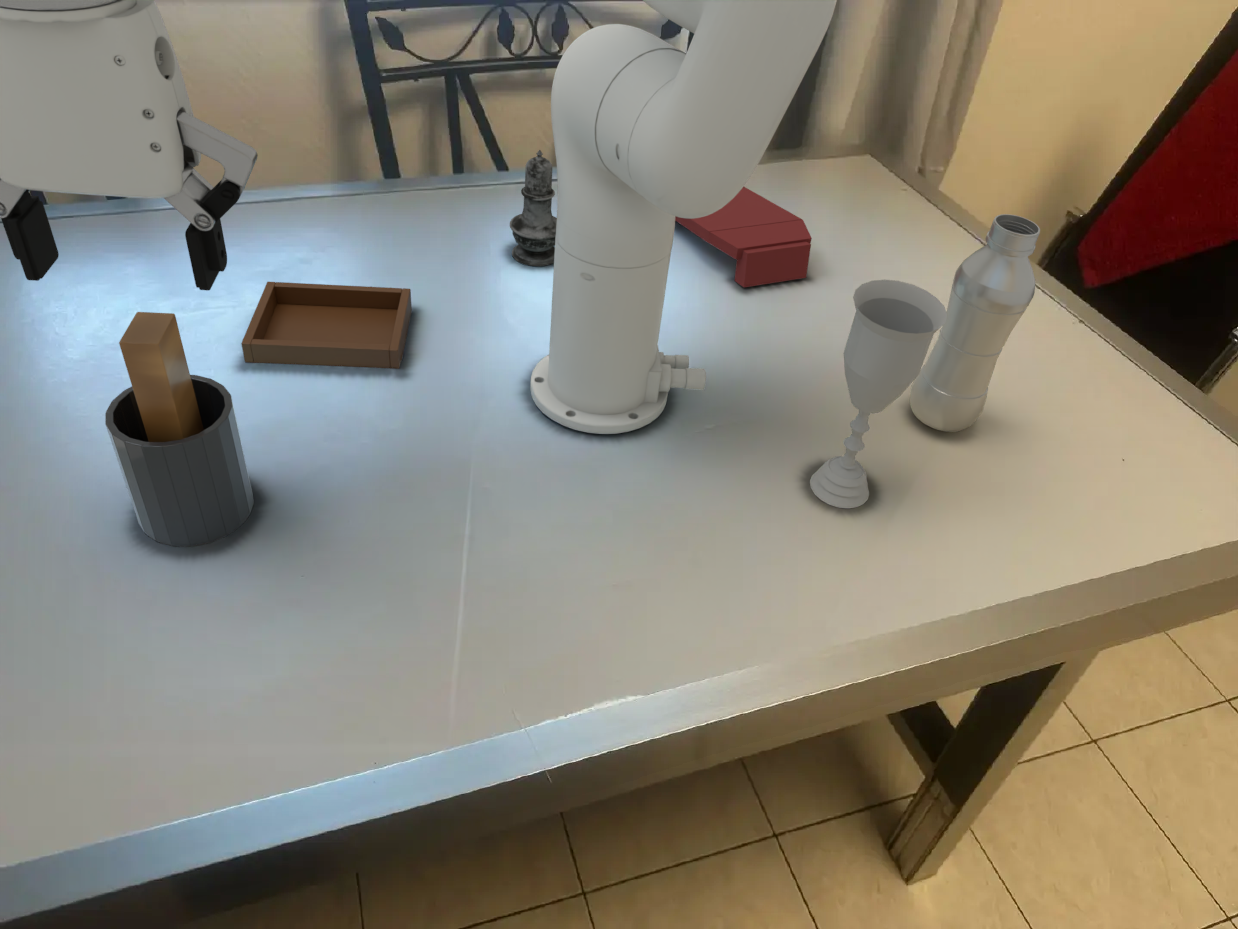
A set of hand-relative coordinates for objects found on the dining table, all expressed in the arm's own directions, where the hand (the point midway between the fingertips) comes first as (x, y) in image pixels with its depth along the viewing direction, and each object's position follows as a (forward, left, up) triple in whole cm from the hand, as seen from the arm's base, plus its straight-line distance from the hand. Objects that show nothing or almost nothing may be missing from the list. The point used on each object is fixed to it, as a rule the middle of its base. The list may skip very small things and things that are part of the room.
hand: (127, 274), depth 58 cm
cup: (0, 0, -21) cm, 21 cm away
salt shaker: (-25, -42, -21) cm, 53 cm away
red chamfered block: (-47, -50, -21) cm, 72 cm away
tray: (-6, -24, -21) cm, 32 cm away
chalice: (-51, -5, -21) cm, 55 cm away
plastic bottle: (-63, -15, -21) cm, 68 cm away
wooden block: (0, 0, -20) cm, 20 cm away
